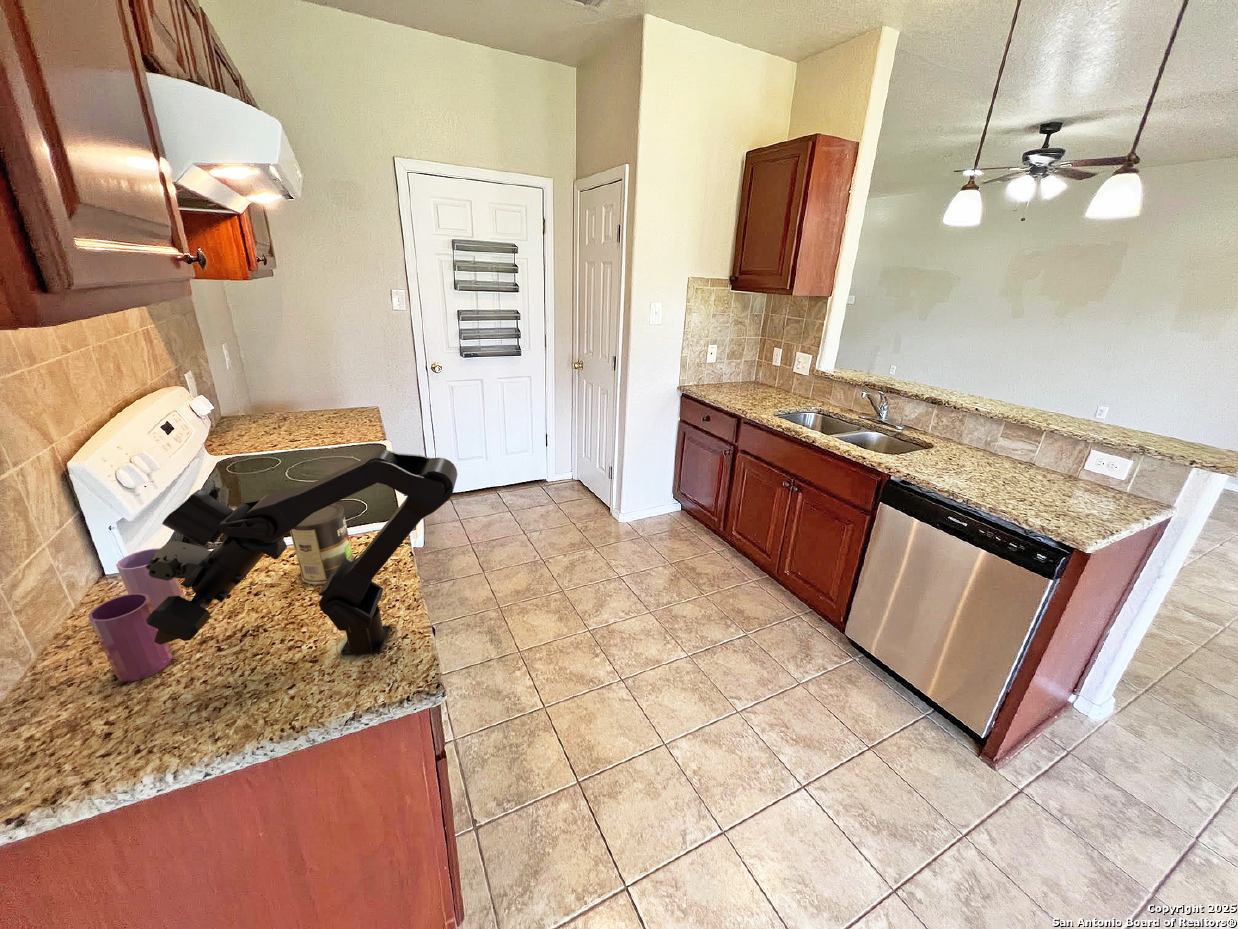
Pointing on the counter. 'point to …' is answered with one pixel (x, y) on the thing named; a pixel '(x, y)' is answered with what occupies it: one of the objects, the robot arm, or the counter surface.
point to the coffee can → (321, 543)
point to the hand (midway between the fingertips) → (176, 622)
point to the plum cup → (129, 637)
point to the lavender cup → (146, 578)
